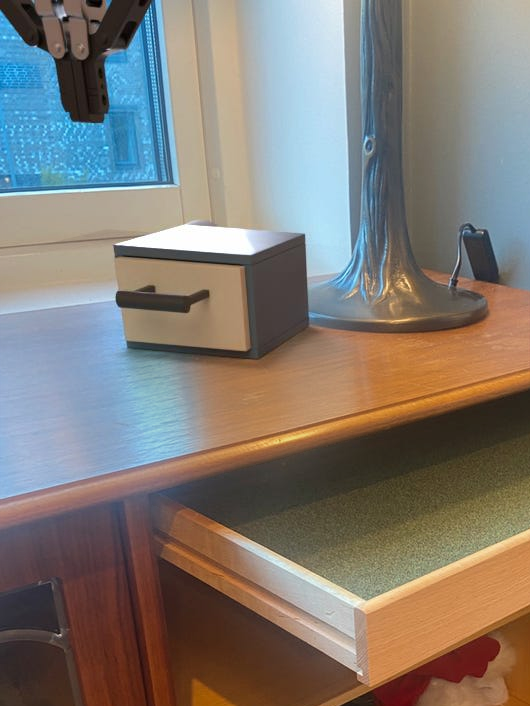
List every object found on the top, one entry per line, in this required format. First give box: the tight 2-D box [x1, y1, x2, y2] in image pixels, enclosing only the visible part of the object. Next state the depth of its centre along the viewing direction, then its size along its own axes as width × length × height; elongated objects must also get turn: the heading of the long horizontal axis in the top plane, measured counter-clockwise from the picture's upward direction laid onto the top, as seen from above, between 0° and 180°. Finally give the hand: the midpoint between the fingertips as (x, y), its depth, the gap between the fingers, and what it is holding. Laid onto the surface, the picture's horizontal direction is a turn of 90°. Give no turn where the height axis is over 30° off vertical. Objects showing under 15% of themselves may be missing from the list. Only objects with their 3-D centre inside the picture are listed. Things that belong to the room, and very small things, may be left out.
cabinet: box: [112, 224, 310, 360], centre depth 92 cm, size 15×13×9 cm
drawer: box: [113, 257, 251, 351], centre depth 88 cm, size 19×12×7 cm, turn 171°
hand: (87, 122), depth 67 cm, fingers closed
